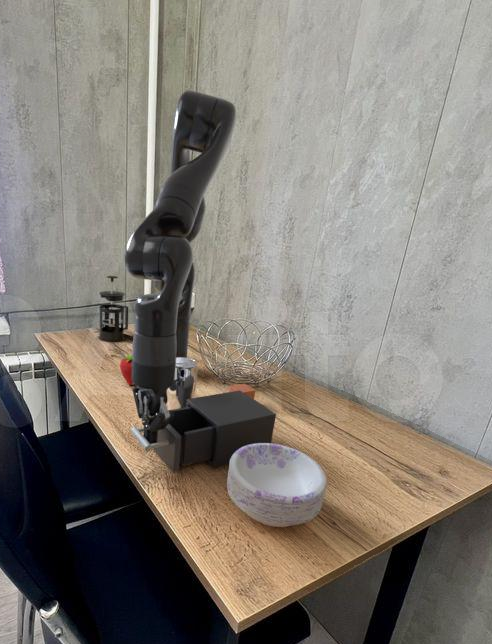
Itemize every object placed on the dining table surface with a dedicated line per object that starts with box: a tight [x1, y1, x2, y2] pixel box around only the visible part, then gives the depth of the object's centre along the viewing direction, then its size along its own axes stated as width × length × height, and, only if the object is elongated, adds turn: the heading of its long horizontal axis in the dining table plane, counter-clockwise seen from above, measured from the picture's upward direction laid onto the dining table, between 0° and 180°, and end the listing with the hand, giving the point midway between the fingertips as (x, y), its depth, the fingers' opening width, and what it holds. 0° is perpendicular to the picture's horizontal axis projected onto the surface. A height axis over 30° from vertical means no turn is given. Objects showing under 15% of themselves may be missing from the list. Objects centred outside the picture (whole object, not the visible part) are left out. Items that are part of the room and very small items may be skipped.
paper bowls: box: [226, 442, 328, 528], centre depth 65 cm, size 15×15×8 cm
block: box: [228, 383, 256, 400], centre depth 102 cm, size 5×5×5 cm
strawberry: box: [119, 354, 134, 386], centre depth 109 cm, size 6×8×10 cm
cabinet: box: [186, 390, 277, 469], centre depth 82 cm, size 14×12×9 cm
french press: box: [98, 275, 129, 343], centre depth 146 cm, size 12×9×23 cm
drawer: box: [130, 406, 216, 473], centre depth 77 cm, size 17×11×7 cm, turn 117°
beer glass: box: [166, 357, 198, 410], centre depth 89 cm, size 7×7×15 cm
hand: (150, 444), depth 74 cm, fingers closed
